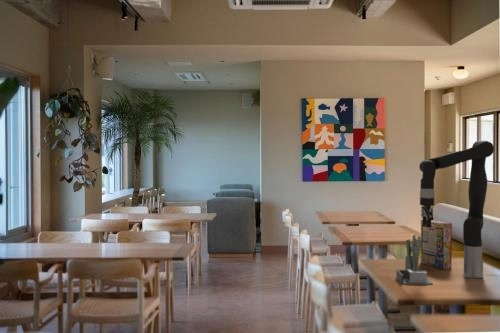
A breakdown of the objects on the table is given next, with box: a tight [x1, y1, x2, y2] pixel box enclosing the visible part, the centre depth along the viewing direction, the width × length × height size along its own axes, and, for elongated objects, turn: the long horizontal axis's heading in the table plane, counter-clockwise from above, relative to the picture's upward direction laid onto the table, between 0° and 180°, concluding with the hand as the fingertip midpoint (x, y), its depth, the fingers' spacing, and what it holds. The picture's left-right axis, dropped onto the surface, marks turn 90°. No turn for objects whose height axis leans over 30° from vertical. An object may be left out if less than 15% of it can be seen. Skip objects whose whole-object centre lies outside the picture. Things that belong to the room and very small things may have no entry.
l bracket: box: [407, 269, 428, 282], centre depth 287 cm, size 9×7×5 cm
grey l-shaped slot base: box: [395, 269, 433, 286], centre depth 288 cm, size 16×13×5 cm
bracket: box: [404, 234, 422, 270], centre depth 313 cm, size 28×7×20 cm, turn 152°
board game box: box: [420, 219, 453, 270], centre depth 326 cm, size 20×6×27 cm, turn 23°
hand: (426, 226), depth 297 cm, fingers open, 8 cm apart
